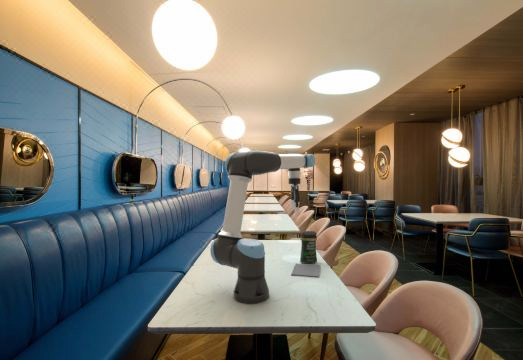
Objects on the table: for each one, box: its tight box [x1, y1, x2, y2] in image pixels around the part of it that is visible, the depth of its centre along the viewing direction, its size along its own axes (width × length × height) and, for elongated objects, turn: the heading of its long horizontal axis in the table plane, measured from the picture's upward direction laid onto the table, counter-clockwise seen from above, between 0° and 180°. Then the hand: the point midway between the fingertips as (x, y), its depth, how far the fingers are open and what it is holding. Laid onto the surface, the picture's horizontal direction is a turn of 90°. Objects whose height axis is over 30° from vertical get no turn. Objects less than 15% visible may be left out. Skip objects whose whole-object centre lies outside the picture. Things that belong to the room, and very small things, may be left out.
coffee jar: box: [300, 230, 318, 265], centre depth 159 cm, size 10×8×19 cm
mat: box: [290, 263, 321, 278], centre depth 145 cm, size 18×14×1 cm
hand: (294, 211), depth 170 cm, fingers open, 13 cm apart
